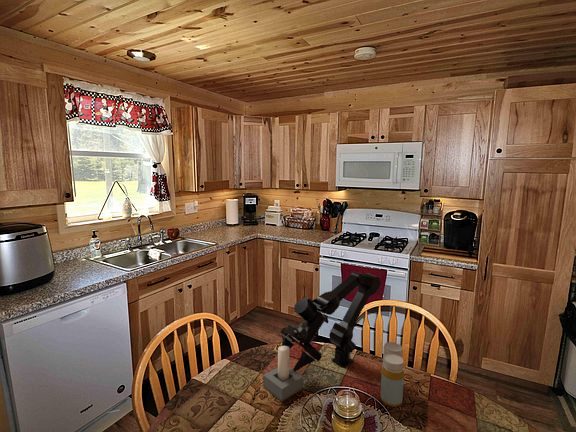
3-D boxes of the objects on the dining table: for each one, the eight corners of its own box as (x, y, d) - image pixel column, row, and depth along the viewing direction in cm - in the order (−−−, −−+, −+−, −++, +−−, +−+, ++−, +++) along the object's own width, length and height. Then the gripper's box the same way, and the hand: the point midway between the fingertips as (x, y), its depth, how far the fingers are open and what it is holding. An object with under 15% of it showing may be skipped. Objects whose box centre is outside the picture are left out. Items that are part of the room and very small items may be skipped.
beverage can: (404, 388, 114) (407, 348, 112) (391, 394, 110) (394, 353, 109) (390, 377, 119) (392, 340, 117) (377, 383, 116) (379, 344, 114)
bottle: (403, 409, 103) (406, 366, 101) (381, 406, 105) (383, 363, 103) (400, 395, 110) (403, 354, 108) (379, 392, 111) (381, 352, 109)
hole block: (283, 375, 120) (284, 363, 119) (302, 388, 112) (303, 376, 112) (263, 386, 113) (263, 374, 112) (281, 401, 106) (282, 389, 105)
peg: (286, 381, 115) (287, 345, 114) (290, 388, 111) (291, 350, 110) (276, 383, 114) (276, 346, 112) (279, 390, 110) (280, 352, 109)
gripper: (284, 306, 121) (259, 342, 116) (316, 326, 106) (288, 368, 101) (300, 321, 126) (277, 355, 122) (332, 341, 111) (307, 382, 106)
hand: (286, 364), depth 112 cm, fingers open, 9 cm apart
